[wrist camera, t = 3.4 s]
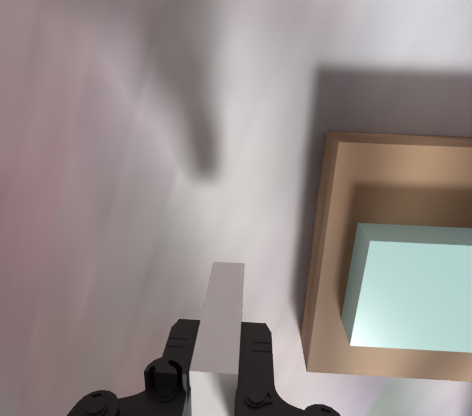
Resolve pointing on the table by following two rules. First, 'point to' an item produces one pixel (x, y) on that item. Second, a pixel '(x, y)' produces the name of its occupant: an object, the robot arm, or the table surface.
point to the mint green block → (410, 288)
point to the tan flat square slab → (380, 212)
